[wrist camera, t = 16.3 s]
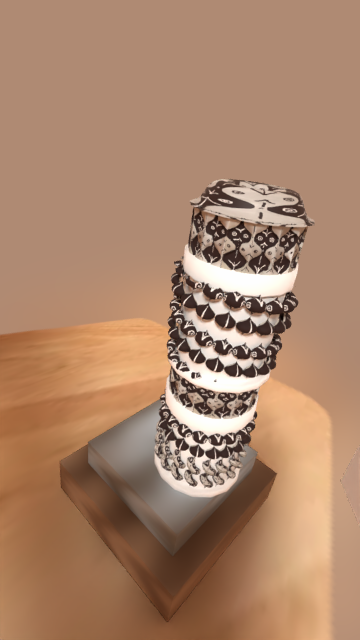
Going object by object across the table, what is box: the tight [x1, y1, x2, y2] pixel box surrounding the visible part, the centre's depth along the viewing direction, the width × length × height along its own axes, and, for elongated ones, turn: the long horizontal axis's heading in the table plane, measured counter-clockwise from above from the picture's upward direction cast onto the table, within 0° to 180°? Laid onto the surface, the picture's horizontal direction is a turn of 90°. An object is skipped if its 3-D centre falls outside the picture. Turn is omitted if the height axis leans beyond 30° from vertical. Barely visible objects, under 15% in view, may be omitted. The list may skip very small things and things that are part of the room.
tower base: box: [60, 399, 277, 622], centre depth 36 cm, size 16×16×7 cm
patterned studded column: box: [154, 179, 314, 498], centre depth 27 cm, size 9×9×25 cm
